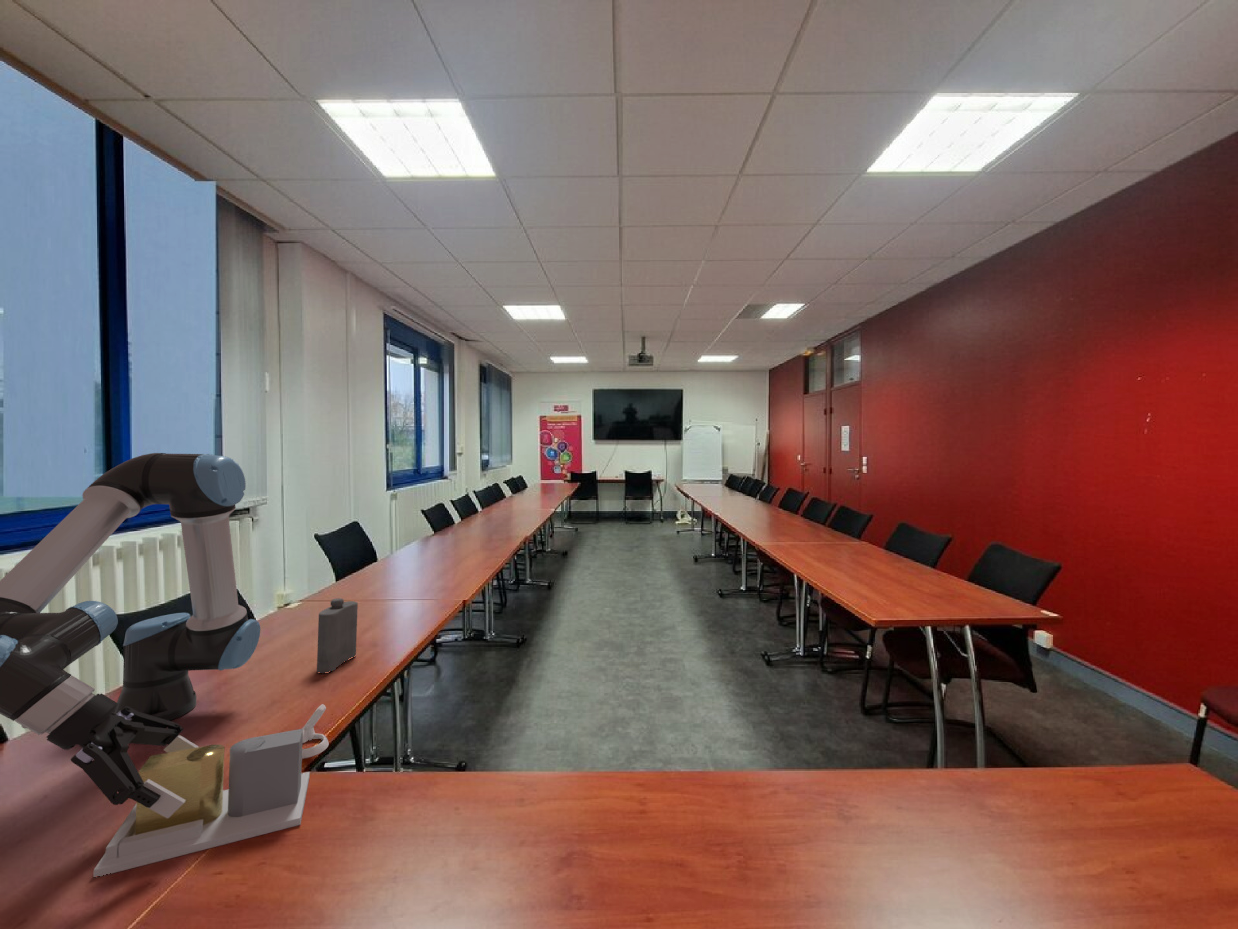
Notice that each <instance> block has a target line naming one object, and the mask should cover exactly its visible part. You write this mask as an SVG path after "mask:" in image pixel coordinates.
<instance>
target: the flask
mask: <svg viewBox="0 0 1238 929" xmlns="http://www.w3.org/2000/svg"><path fill="white" fill-rule="evenodd" d="M358 605H359V603H358V602H357V601H345V600H344V599H343V598H340V597H339V598H333V599H332V600H331V601H330V606H329V607H327V608H325V609H323V610H321V611H320V612H319V613H318V624H317V625H318V626H317V627H318V629H317V650H316V651H317V655H316V657H317V658H316V673H317V672H320V673H325V672H329V671H333V670H334V671H336V670H337V669H336V667H338V666H339V665H340V664H342V663H343V662H344V661H347V660H348V659H349V658H351V657H354V656H355V655H356V656H357V633H358V607H359V606H358ZM347 662H348V661H347ZM343 664H344V663H343ZM343 664H342V665H343ZM340 666H341V665H340ZM340 666H339V667H340ZM339 667H338V668H339ZM334 671H333V672H334Z"/></svg>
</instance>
